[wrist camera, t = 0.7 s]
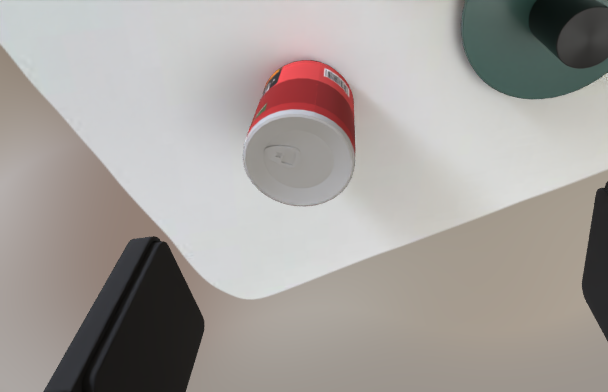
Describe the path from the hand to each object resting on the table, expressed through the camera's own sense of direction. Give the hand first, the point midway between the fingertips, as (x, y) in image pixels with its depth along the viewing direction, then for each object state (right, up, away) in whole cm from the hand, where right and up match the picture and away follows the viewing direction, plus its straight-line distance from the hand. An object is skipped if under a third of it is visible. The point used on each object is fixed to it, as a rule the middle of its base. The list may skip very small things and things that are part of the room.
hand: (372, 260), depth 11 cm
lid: (+17, +15, +26) cm, 35 cm away
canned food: (-1, +10, +32) cm, 33 cm away
